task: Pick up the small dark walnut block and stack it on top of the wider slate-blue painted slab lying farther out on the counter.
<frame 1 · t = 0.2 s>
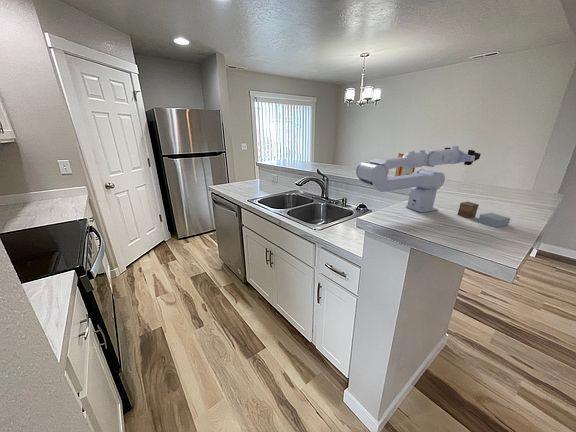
hand: (469, 155, 96), 21 cm above the worktop, tool horizontal, fingers open, 7 cm apart
slate slab: (492, 224, 83), on the worktop
baking soda box: (403, 177, 161), on the worktop
walnut block: (466, 216, 90), on the worktop
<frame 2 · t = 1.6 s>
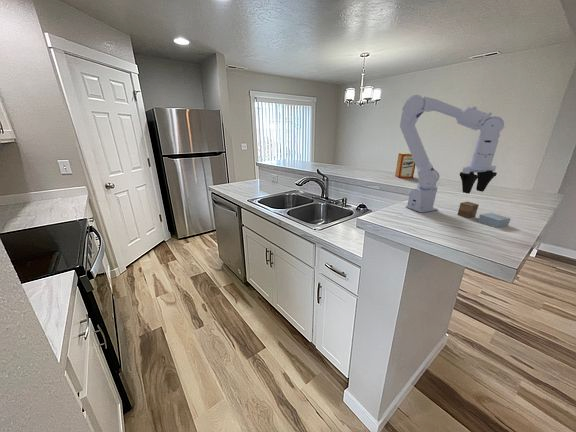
hand: (472, 191, 86), 9 cm above the worktop, tool pointing down, fingers open, 7 cm apart
nothing on the worktop moved.
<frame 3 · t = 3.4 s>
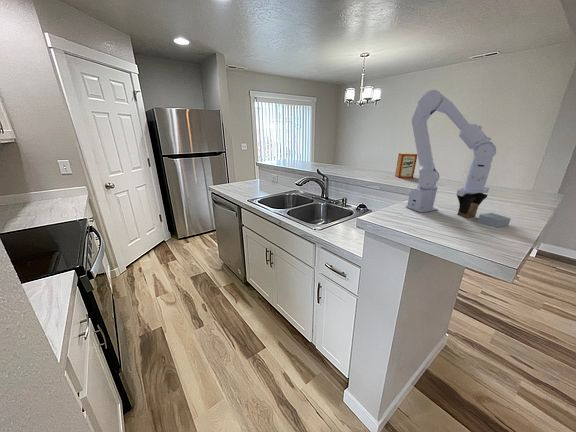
hand: (467, 212, 89), 1 cm above the worktop, tool pointing down, fingers closed on walnut block, 4 cm apart
walnut block: (466, 215, 90), on the worktop, touching gripper
everything else where it was.
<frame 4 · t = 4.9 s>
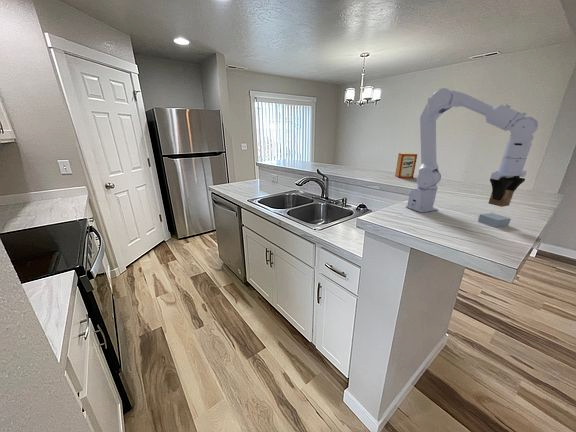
hand: (500, 199, 79), 9 cm above the worktop, tool pointing down, fingers closed on walnut block, 4 cm apart
walnut block: (498, 204, 80), point 7 cm above the worktop, touching gripper
everything else where it was.
when the fingers open (6 cm above the worktop, at t = 6.3 s): walnut block stays where it is, resting on slate slab.
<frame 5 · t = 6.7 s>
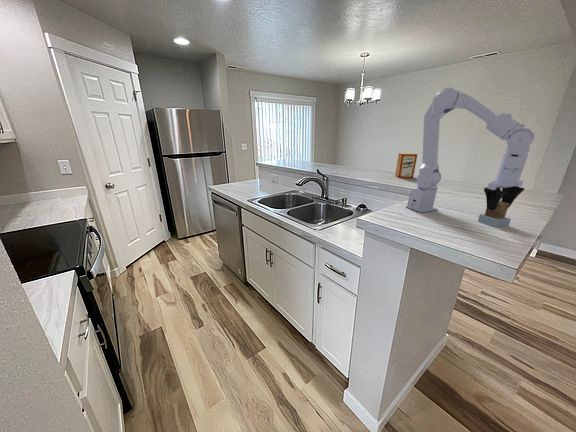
hand: (497, 208, 81), 6 cm above the worktop, tool pointing down, fingers open, 7 cm apart
slate slab: (492, 224, 83), on the worktop, touching walnut block
walnut block: (494, 216, 82), point 3 cm above the worktop, touching slate slab
everything else where it was.
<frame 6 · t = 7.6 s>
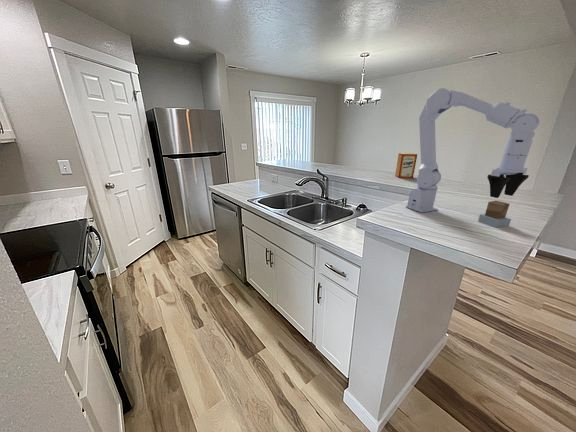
hand: (501, 196, 79), 10 cm above the worktop, tool pointing down, fingers open, 7 cm apart
nothing on the worktop moved.
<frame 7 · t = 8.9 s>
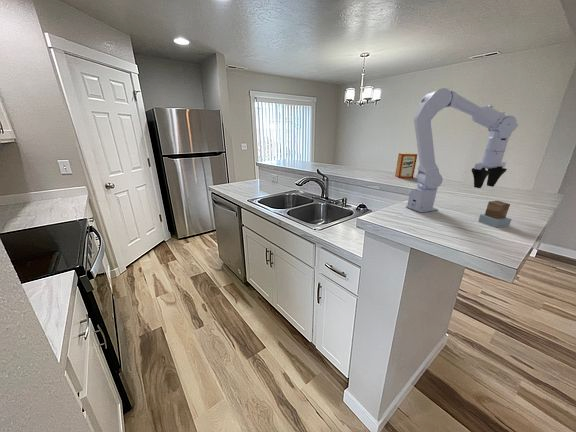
hand: (483, 186, 92), 10 cm above the worktop, tool pointing down, fingers open, 7 cm apart
nothing on the worktop moved.
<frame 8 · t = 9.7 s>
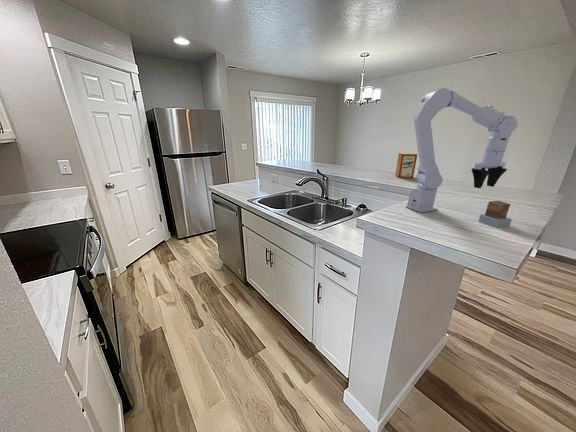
hand: (483, 186, 92), 10 cm above the worktop, tool pointing down, fingers open, 7 cm apart
nothing on the worktop moved.
at the end: walnut block 0.2 cm off-centre on the slate slab, point 3.0 cm above the slate slab's base; walnut block tilted 0°; the gripper is holding nothing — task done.
